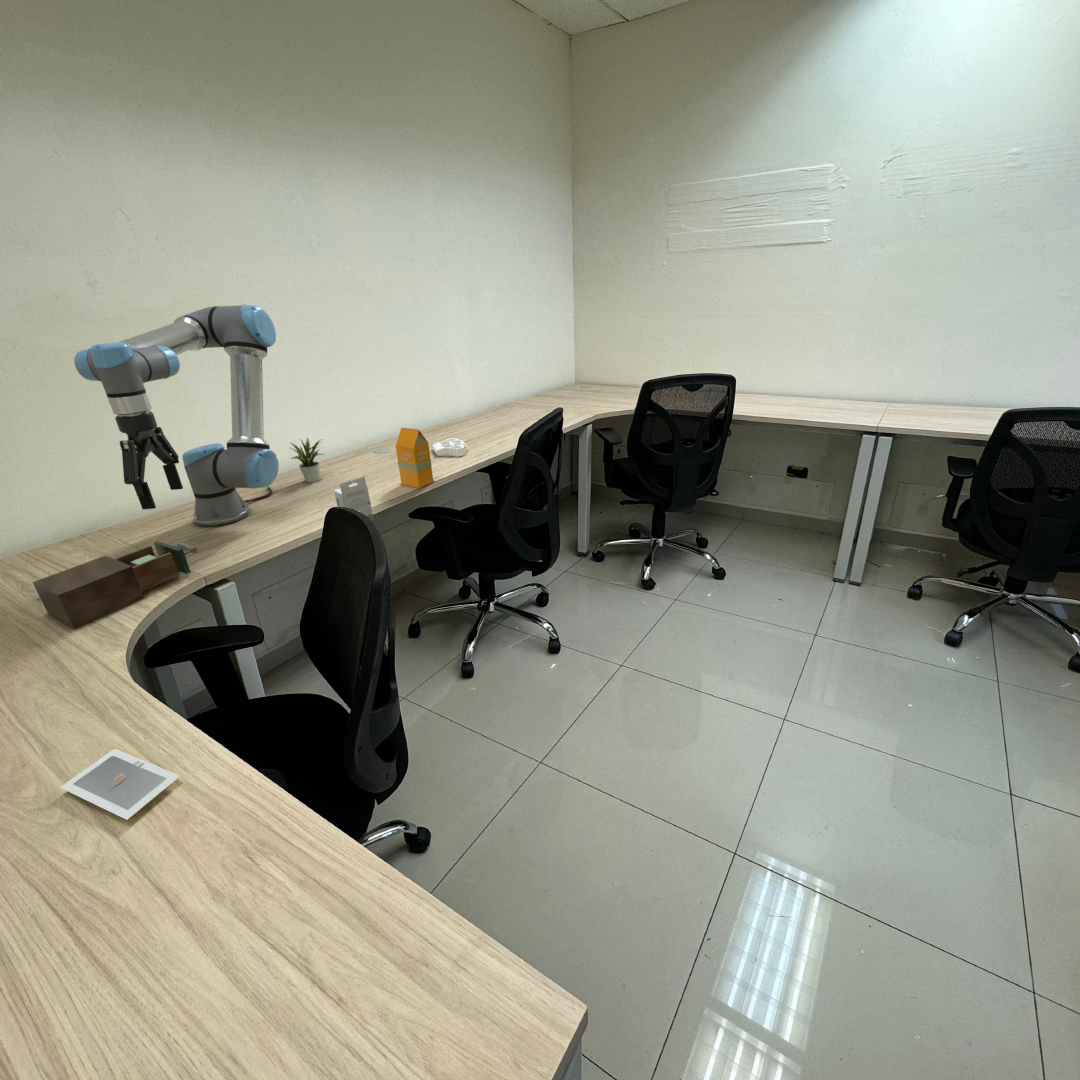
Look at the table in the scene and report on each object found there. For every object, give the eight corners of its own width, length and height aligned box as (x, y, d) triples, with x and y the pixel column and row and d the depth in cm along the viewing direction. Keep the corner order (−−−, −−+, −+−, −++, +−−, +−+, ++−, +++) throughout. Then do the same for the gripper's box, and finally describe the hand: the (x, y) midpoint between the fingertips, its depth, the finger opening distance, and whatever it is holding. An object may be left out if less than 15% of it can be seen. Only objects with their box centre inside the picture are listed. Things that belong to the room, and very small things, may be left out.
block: (154, 569, 141) (149, 554, 139) (164, 573, 139) (158, 557, 137) (136, 577, 137) (130, 561, 136) (145, 581, 135) (139, 565, 133)
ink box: (366, 517, 172) (358, 472, 166) (374, 521, 169) (366, 476, 163) (340, 526, 167) (330, 480, 161) (348, 530, 164) (338, 483, 157)
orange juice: (419, 488, 196) (411, 432, 187) (401, 484, 200) (392, 430, 192) (433, 481, 202) (426, 427, 193) (416, 478, 206) (408, 424, 197)
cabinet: (117, 586, 138) (105, 555, 134) (144, 597, 132) (131, 566, 128) (48, 614, 127) (32, 582, 123) (74, 629, 121) (58, 595, 117)
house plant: (339, 481, 206) (330, 438, 199) (300, 489, 199) (290, 445, 192) (328, 472, 217) (320, 431, 210) (291, 480, 210) (281, 437, 203)
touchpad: (129, 825, 75) (124, 814, 74) (62, 792, 81) (56, 782, 80) (182, 781, 82) (178, 770, 81) (117, 753, 87) (112, 743, 86)
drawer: (182, 556, 150) (174, 534, 147) (207, 565, 144) (199, 542, 141) (110, 586, 136) (100, 562, 133) (134, 597, 131) (124, 571, 128)
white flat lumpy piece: (431, 448, 243) (464, 444, 247) (437, 459, 227) (472, 454, 231) (430, 440, 241) (463, 436, 245) (436, 451, 226) (471, 446, 230)
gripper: (145, 403, 139) (172, 482, 148) (82, 427, 117) (119, 518, 126) (176, 401, 140) (201, 480, 149) (119, 424, 118) (153, 516, 127)
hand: (163, 498), depth 138 cm, fingers open, 13 cm apart
